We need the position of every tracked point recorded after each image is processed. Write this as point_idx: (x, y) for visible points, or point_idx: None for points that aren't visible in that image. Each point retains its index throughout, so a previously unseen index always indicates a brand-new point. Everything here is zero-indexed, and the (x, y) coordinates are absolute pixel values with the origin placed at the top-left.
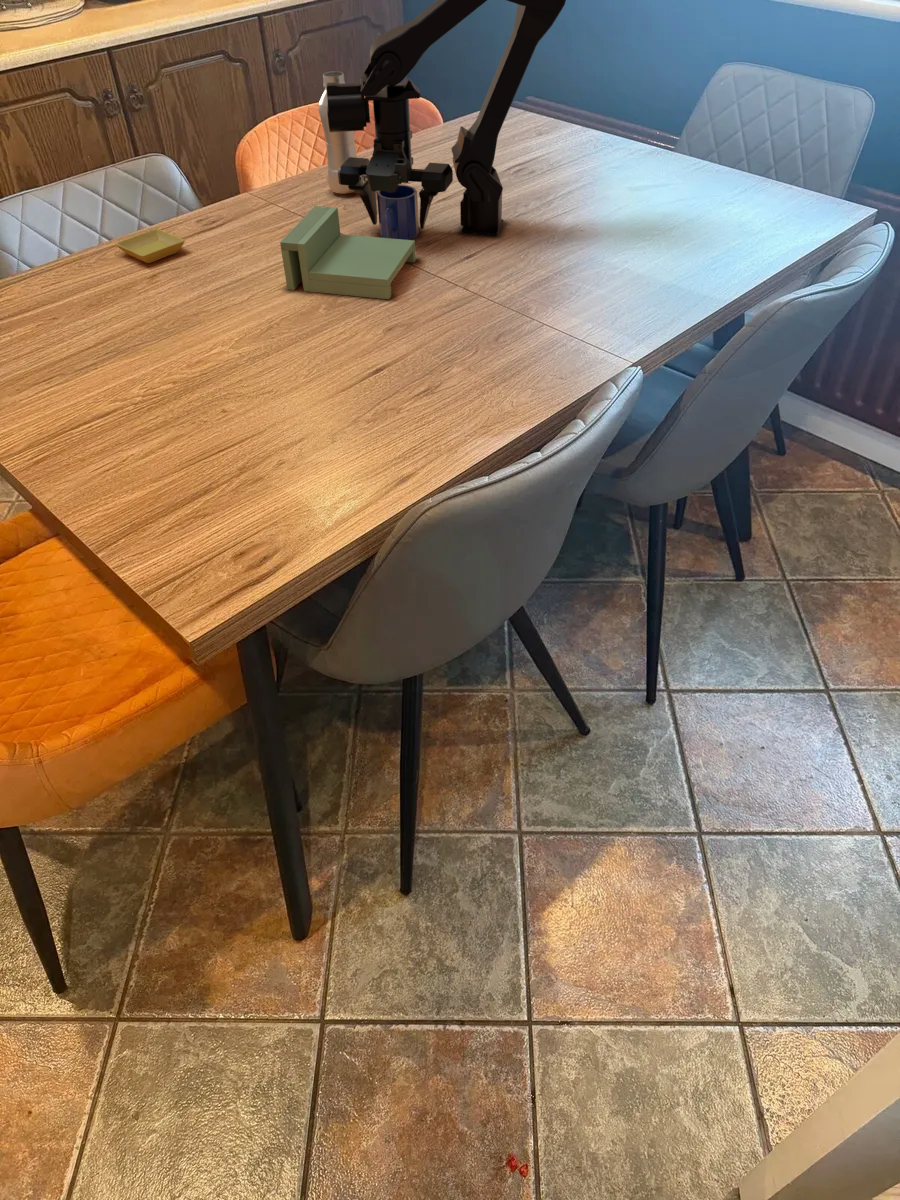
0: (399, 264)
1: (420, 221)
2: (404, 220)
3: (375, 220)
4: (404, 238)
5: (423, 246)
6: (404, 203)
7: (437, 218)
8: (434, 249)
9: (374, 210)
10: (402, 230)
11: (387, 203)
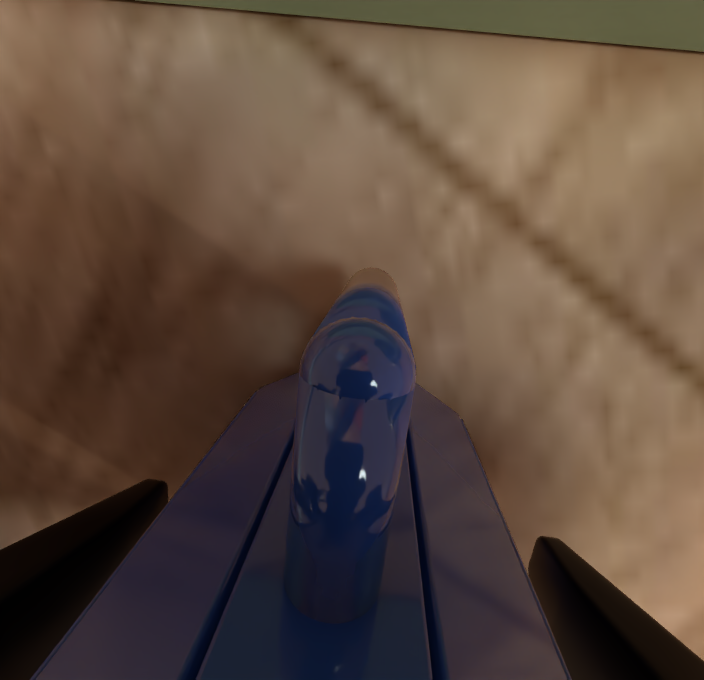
0: None
1: (121, 512)
2: (223, 463)
3: (547, 571)
4: (282, 383)
5: (124, 286)
6: (74, 657)
7: None
8: (30, 239)
9: (591, 667)
10: (275, 404)
11: (413, 656)
